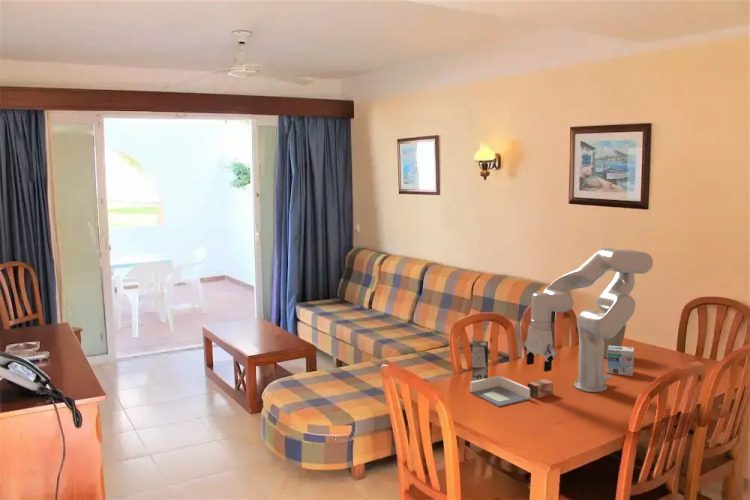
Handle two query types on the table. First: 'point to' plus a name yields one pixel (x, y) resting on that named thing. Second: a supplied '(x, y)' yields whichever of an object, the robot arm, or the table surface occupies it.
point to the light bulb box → (620, 360)
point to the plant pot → (614, 340)
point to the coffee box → (479, 360)
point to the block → (540, 388)
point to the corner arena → (499, 391)
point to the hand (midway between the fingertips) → (538, 367)
